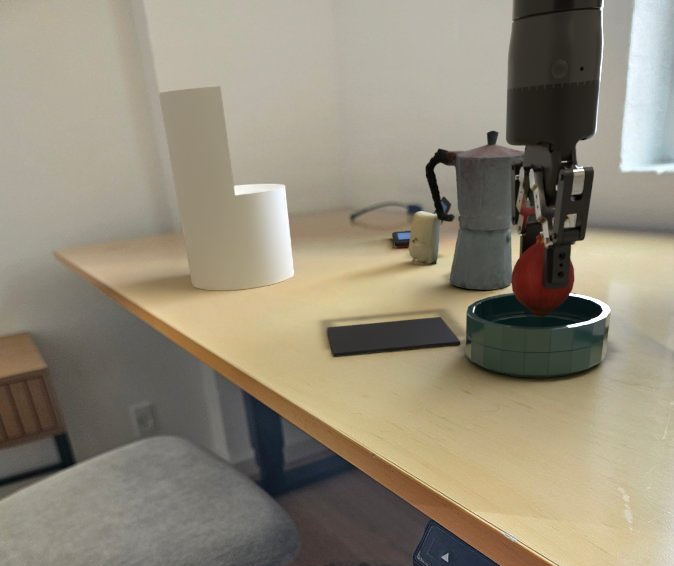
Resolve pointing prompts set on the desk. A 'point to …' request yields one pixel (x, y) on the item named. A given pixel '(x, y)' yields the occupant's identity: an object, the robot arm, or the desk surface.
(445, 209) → the handheld console
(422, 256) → the cream rounded pillar
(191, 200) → the white cylindrical chair
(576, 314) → the bowl
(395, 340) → the mat
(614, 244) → the desk surface
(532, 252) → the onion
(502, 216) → the moka pot
